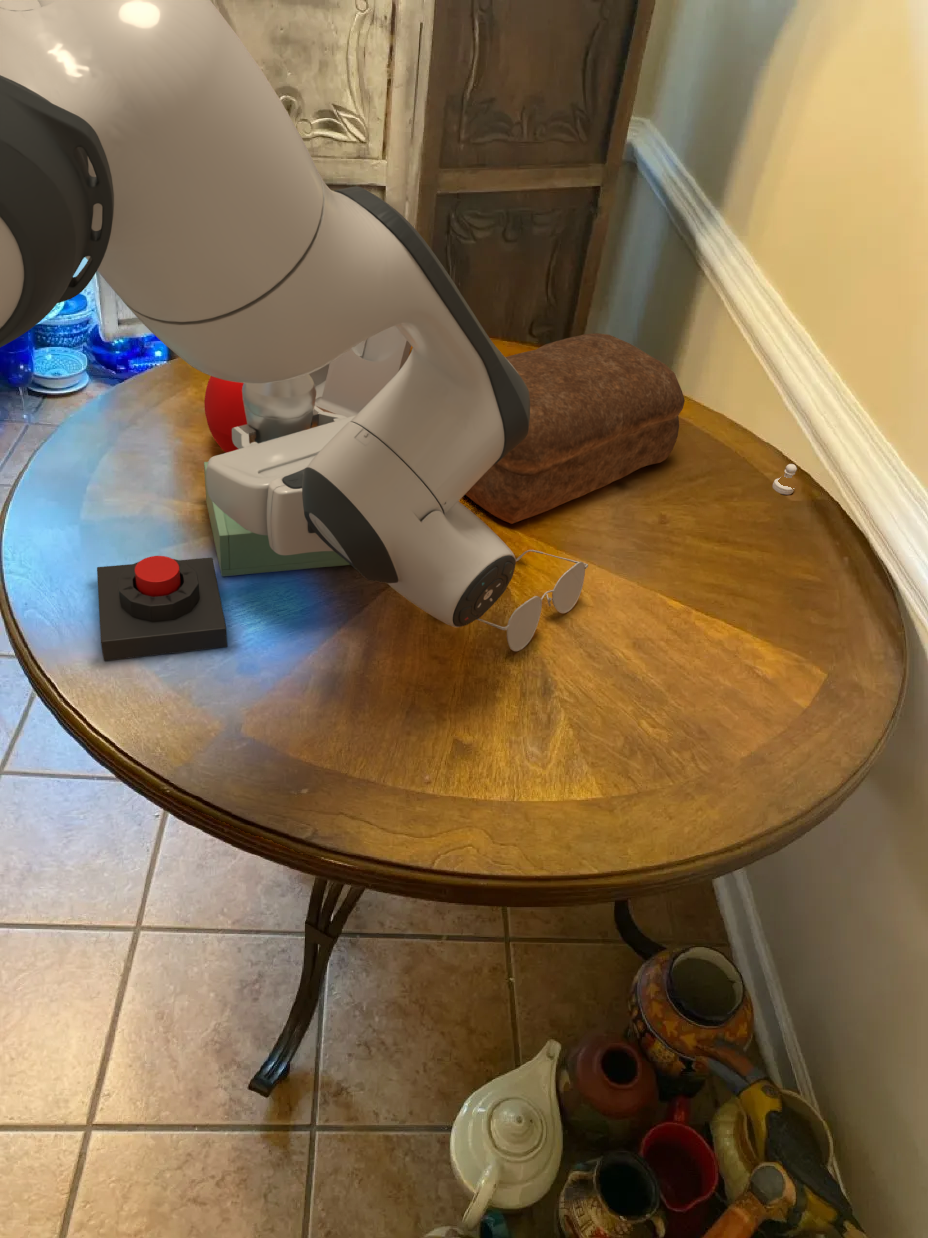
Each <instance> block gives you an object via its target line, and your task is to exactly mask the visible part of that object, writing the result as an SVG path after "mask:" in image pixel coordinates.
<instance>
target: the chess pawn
mask: <svg viewBox="0 0 928 1238" xmlns="http://www.w3.org/2000/svg"><path fill="white" fill-rule="evenodd" d="M797 470H798V468H797V465H795V464H794V463H789V464H787V465H786V466H785V469H784V474H783V475H784V477H786V478H792V479H793V476H794V475H796V472H797ZM780 478H781V477H778V478H775V479H774V481H773V483H772V485H771V486H772V489H773V490H774V491H775V492H776V493H779V494H780V495H791V494H793V492H794V491H795V488H793V489H794V490H793V489H792V488H791V487H788V486H783V485H781V484H780V483H779V482H778V480H779V479H780Z"/></svg>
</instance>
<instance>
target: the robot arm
mask: <svg viewBox="0 0 928 1238" xmlns="http://www.w3.org/2000/svg"><path fill="white" fill-rule="evenodd" d="M84 259H86V260H87V261H86V263H85V265H84V266H83V267H82V268H81V270H80V271H79V273H78V274H76V272H77V271H78V269H79V267H80V265H81V263H82V262H83V260H84ZM97 272H98V274H99V275H100V276H101V278H102V279H103V280H104V281H105V282H106V283H107V284H108V286H109V287H110V288H111V289H112V291H113V292H114V293H115V294H116V295H117V296H118V297H119V298H120V300H121V301H122V302H123V303H124V304H125V306H126V307H127V308H128V310H130V312H132V314H133V315H134V316H135V317H136V318H137V319H138V320H139V321H140V322H141V323H142V324H143V325H144V326H145V328H146V329H148V330H149V332H150V333H152V334H153V335H154V336H155V337H156V338H157V339H158V340H159V341H160V342H161V343H162V344H163V345H165V346H166V347H167V348H168V349H169V350H170V351H172V352H173V353H174V354H175V355H177V356H178V357H179V358H180V359H181V360H182V361H184V362H185V363H186V364H188V365H189V366H191V368H194V369H196V370H197V371H199V372H201V373H203V374H205V375H208V376H210V377H211V376H213V377H216V378H219V379H223V380H227V381H232V382H240V383H253V384H257V383H274V382H281V381H286V380H291V379H294V378H298V377H302V376H304V375H307V374H310V373H312V372H314V371H316V370H318V369H320V368H322V367H324V366H326V365H327V364H329V363H331V362H332V361H334V360H335V359H337V358H338V357H340V356H341V355H343V354H344V353H346V352H347V351H349V350H350V349H352V348H353V347H355V346H356V345H358V344H360V343H361V342H363V341H365V340H366V339H368V338H369V337H371V336H373V335H375V334H377V333H379V332H381V331H383V330H385V329H388V328H390V327H393V326H396V327H397V329H398V330H399V331H400V332H401V333H402V335H403V336H404V337H405V338H406V340H407V341H408V342H409V343H410V345H411V350H410V352H409V356H408V359H407V360H406V362H405V364H404V365H403V366H402V368H401V369H400V370H399V372H398V373H397V374H396V375H395V376H394V377H393V378H392V379H391V380H390V381H389V382H388V383H387V384H386V385H385V387H384V388H383V389H382V390H381V391H380V392H379V393H378V394H377V395H376V396H375V397H374V398H373V399H372V400H371V401H370V402H369V403H368V404H367V405H366V406H365V407H364V408H363V409H362V410H361V411H360V412H359V413H358V414H357V415H355V416H352V417H348V418H347V417H345V416H343V415H338V414H333V413H329V412H323V411H322V410H321V409H319V408H318V407H317V406H314V411H313V416H312V421H311V426H310V429H307V430H303V431H300V432H297V433H293V434H290V435H286V436H283V437H279V438H276V439H272V440H269V441H265V442H262V443H259V444H258V443H257V442H256V441H255V439H256V431H255V430H254V429H253V428H251V427H250V426H249V425H248V424H246V425H242V426H238V427H234V428H232V441H233V444H234V445H235V446H236V447H237V448H238V450H234V451H231V452H227V453H226V452H224V453H220V454H216V455H214V456H212V457H210V458H209V459H208V461H207V462H208V464H207V469H206V482H207V490H208V494H209V497H210V499H211V500H212V501H213V502H214V503H215V505H216V506H218V507H219V508H220V509H221V510H222V511H223V512H224V513H225V514H227V515H228V516H229V517H230V518H231V519H233V520H234V521H235V522H237V523H238V524H239V525H241V526H242V527H243V528H245V529H247V530H248V531H250V532H253V533H256V534H259V535H268V539H269V545H270V547H271V549H272V550H273V551H274V552H276V553H277V554H279V555H294V554H301V553H308V552H319V551H334V552H336V553H337V554H338V555H339V556H341V557H342V558H343V559H344V560H346V561H347V562H348V563H349V564H350V565H349V566H352V568H354V569H355V570H356V571H357V572H358V573H359V574H360V575H361V576H362V577H363V578H364V579H365V580H367V581H371V582H375V583H382V584H387V585H388V586H389V587H391V588H392V590H394V591H395V592H397V593H398V594H399V595H401V596H402V597H403V598H404V599H406V600H407V601H408V602H410V603H411V604H413V605H414V606H415V607H417V608H419V609H420V610H421V611H423V612H425V613H427V614H428V615H430V616H432V617H433V618H434V619H436V620H438V621H440V622H442V623H444V624H446V625H448V626H450V627H452V628H462V627H465V626H468V625H469V624H471V623H473V622H475V621H478V620H477V619H481V617H482V616H483V615H485V614H486V612H487V611H488V610H490V608H491V607H492V606H494V605H495V603H496V602H497V601H498V600H499V599H500V598H501V596H502V595H503V594H504V593H505V592H506V590H507V589H508V586H509V584H510V582H511V581H512V579H513V577H514V573H515V568H516V564H517V561H516V559H517V558H516V556H515V554H514V552H513V551H512V550H511V548H510V547H509V546H508V545H507V544H506V543H505V542H504V541H503V539H501V537H499V536H498V534H497V533H496V532H495V531H494V530H492V528H491V527H489V525H487V524H486V523H485V521H483V520H482V519H481V518H480V517H479V516H477V515H476V514H475V513H474V512H472V510H470V509H469V508H468V507H467V506H466V505H465V504H463V503H462V502H461V501H460V500H461V499H462V498H463V497H464V496H466V495H465V494H466V493H467V492H468V491H469V490H470V489H471V487H472V486H473V485H474V484H475V483H476V482H477V481H478V480H479V479H480V478H481V477H482V476H483V475H484V474H485V473H486V472H487V471H488V470H489V469H490V468H491V467H492V466H493V465H494V464H496V463H498V462H499V461H500V460H501V459H502V458H503V457H504V456H505V455H507V454H508V453H509V452H510V451H511V450H512V449H513V448H515V447H516V446H517V445H518V444H519V443H520V442H521V441H522V440H524V439H525V438H526V436H527V434H528V429H529V421H530V396H529V390H528V388H527V386H526V384H525V382H524V381H523V379H522V378H521V377H520V375H519V374H518V372H517V371H516V370H515V368H514V367H513V366H512V364H511V363H510V362H509V361H508V360H507V359H506V358H505V357H506V356H505V355H504V354H503V353H502V352H501V350H499V348H498V347H497V346H496V344H494V342H493V341H492V339H491V338H490V337H489V335H488V334H487V332H486V331H485V328H484V327H483V326H482V324H481V322H480V321H479V319H478V318H477V317H476V315H475V314H474V312H473V310H472V309H471V307H470V306H469V304H468V303H467V301H466V299H465V298H464V296H463V295H462V293H461V291H460V290H459V288H458V286H457V285H456V283H455V282H454V280H453V278H451V275H449V273H448V271H447V270H446V268H445V267H444V266H443V264H442V263H441V261H440V260H439V258H438V257H437V255H436V254H435V252H434V251H433V249H432V248H431V247H430V246H429V244H428V242H426V240H425V239H424V237H422V235H421V234H420V233H419V231H418V230H417V229H416V228H415V227H414V226H413V225H412V224H411V222H410V221H408V219H406V217H404V216H403V215H402V214H401V213H400V212H399V211H398V210H396V209H395V208H394V207H393V206H391V205H390V204H389V203H388V202H386V201H385V200H384V199H382V198H381V197H379V196H378V195H376V194H374V193H373V192H371V191H370V190H367V189H365V188H363V187H361V186H359V185H358V186H357V185H356V186H350V187H345V188H339V189H334V190H332V189H330V188H329V186H328V185H327V184H326V182H325V181H324V179H323V177H322V175H321V174H320V172H319V169H318V167H317V165H316V163H315V161H314V159H313V158H312V155H311V153H310V151H309V150H308V148H307V145H306V143H305V141H304V139H303V137H302V136H301V134H300V133H299V130H298V129H297V127H296V125H295V123H294V122H293V120H292V118H291V116H290V115H289V112H288V111H287V109H286V108H285V105H284V104H283V102H282V100H281V98H280V97H279V95H278V94H277V92H276V90H275V89H274V87H273V86H272V84H271V83H270V80H268V78H267V76H266V75H265V74H264V71H263V70H262V69H261V67H260V66H259V64H258V63H257V61H256V60H255V59H254V57H253V55H251V53H250V52H249V50H248V48H247V47H246V46H245V44H244V43H243V41H242V39H240V37H239V36H238V34H237V33H236V32H235V31H234V29H233V28H232V26H231V25H230V23H229V22H228V21H227V19H225V17H224V16H223V15H222V13H221V12H220V11H219V9H218V8H217V7H216V6H215V4H214V3H213V1H212V0H0V348H2V347H4V346H6V345H8V344H10V343H11V342H13V341H15V340H16V339H19V337H21V336H23V335H24V334H26V333H27V332H29V331H30V330H31V329H33V328H34V327H35V326H37V325H38V324H39V323H40V322H42V320H43V319H44V318H46V316H48V315H49V314H50V313H51V312H52V311H53V309H54V308H55V307H56V306H57V305H58V304H60V303H63V302H66V301H70V300H72V299H73V298H75V297H77V296H78V295H80V294H81V293H82V292H83V291H84V290H85V289H86V288H87V287H88V285H89V284H90V283H91V281H92V279H93V278H94V276H95V275H96V274H97ZM75 274H76V275H75Z"/></svg>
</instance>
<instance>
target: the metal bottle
mask: <svg viewBox="0 0 928 1238" xmlns="http://www.w3.org/2000/svg"><path fill="white" fill-rule="evenodd" d="M242 396H243V402H244V409H245V414H246V420H247V424H248V425H249V426H250V427H251V428H253V429H254V430H255V431H256V439H255V441H256V442H257V443H258V444H259V443H262V442H265V441H269V440H272V439H276V438H279V437H283V436H286V435H290V434H293V433H297V432H300V431H303V430H307V429H310V426H311V421H312V416H313V411H314V406H315V400H316V389H315V385H314V382H313V379H312V378H311V376H310V375H309V374H307V375H304V376H302V377H298V378H294V379H291V380H286V381H281V382H274V383H257V384H253V383H244V384H243V387H242Z"/></svg>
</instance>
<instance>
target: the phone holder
mask: <svg viewBox="0 0 928 1238" xmlns="http://www.w3.org/2000/svg"><path fill="white" fill-rule="evenodd" d="M411 349H412V346H411V345H410V343H409V342H408V341H407V340H406V338H405V337H404V336H403V335H402V333H401V332H400V331H399V330H398V329H397V327H396V326H393V327H390V328H388V329H385V330H383V331H381V332H379V333H377V334H375V335H373V336H371V337H369V338H368V339H366V340H365V341H363V342H361V343H360V344H358V345H356V346H355V347H353V348H352V349H350V350H349V351H347V352H346V353H344V354H343V355H341V356H340V357H338V358H337V359H335V360H334V361H332V362H331V363H329V364H327V365H326V366H324V367H322V368H320V369H318V370H316V371H314V372H312V373H310V374H309V375H310V376H311V378H312V379H313V382H314V385H315V389H316V400H315V406H317V407H318V408H319V409H321V410H322V411H323V412H329V413H333V414H338V415H343V416H345V417H347V418H348V417H352V416H355V415H357V414H358V413H359V412H360V411H361V410H362V409H363V408H364V407H365V406H366V405H367V404H368V403H369V402H370V401H371V400H372V399H373V398H374V397H375V396H376V395H377V394H378V393H379V392H380V391H381V390H382V389H383V388H384V387H385V385H386V384H387V383H388V382H389V381H390V380H391V379H392V378H393V377H394V376H395V375H396V374H397V373H398V372H399V370H400V369H401V368H402V366H403V365H404V364H405V362H406V360H407V359H408V357H409V355H410V353H411Z"/></svg>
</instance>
